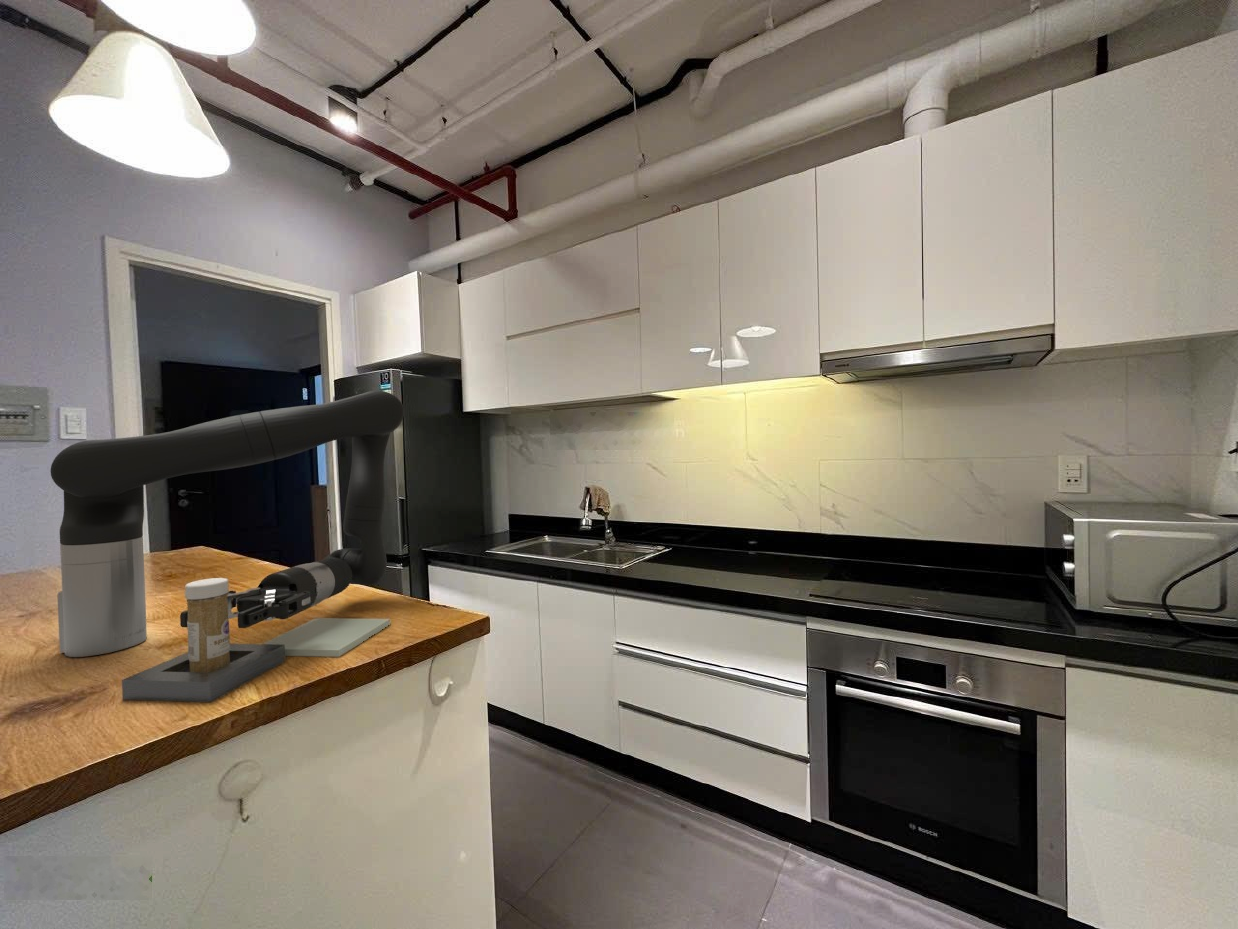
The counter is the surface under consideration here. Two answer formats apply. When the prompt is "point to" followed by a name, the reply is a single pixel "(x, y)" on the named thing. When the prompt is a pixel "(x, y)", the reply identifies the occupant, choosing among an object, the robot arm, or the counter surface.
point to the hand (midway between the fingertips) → (211, 620)
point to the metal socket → (202, 675)
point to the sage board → (328, 636)
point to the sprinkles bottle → (208, 624)
